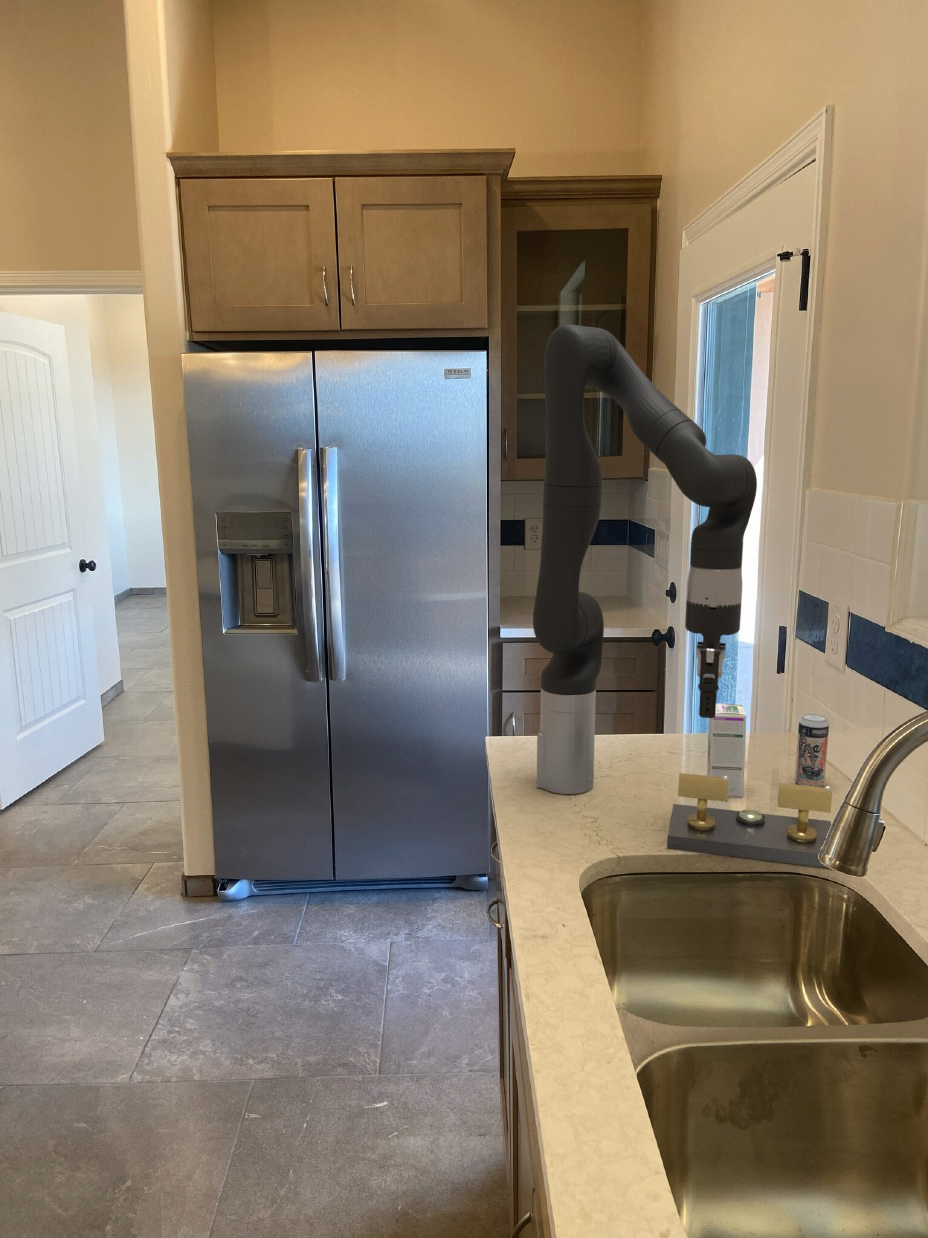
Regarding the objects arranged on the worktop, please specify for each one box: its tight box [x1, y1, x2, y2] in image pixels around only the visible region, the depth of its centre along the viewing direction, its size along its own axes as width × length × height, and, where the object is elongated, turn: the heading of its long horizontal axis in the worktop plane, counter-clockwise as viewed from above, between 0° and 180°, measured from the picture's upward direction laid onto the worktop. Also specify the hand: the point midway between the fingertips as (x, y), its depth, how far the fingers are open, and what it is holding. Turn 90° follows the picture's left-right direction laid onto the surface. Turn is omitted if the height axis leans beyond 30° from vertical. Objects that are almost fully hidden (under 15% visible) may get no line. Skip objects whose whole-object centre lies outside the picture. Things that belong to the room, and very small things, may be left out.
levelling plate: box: [666, 803, 832, 869], centre depth 132 cm, size 23×12×3 cm, turn 73°
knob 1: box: [677, 772, 729, 830], centre depth 132 cm, size 7×4×8 cm, turn 73°
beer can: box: [794, 713, 830, 787], centre depth 153 cm, size 5×5×12 cm
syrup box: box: [706, 703, 747, 799], centre depth 150 cm, size 6×6×14 cm
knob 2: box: [777, 782, 833, 842], centre depth 128 cm, size 7×4×8 cm, turn 73°
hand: (707, 708), depth 129 cm, fingers open, 8 cm apart
